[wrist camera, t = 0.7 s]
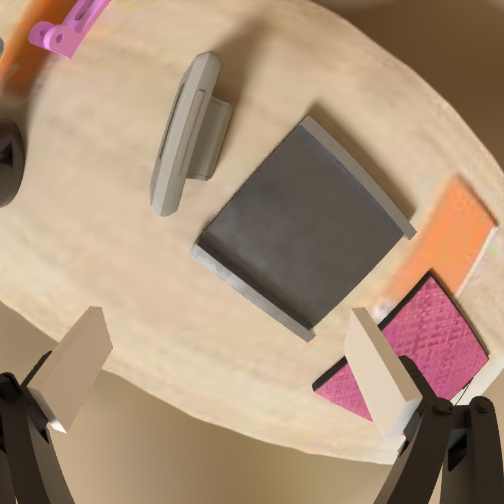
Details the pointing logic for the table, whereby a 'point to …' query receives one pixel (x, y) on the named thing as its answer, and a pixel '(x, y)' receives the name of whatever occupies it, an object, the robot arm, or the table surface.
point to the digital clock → (190, 134)
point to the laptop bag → (417, 347)
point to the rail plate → (302, 230)
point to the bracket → (67, 28)
